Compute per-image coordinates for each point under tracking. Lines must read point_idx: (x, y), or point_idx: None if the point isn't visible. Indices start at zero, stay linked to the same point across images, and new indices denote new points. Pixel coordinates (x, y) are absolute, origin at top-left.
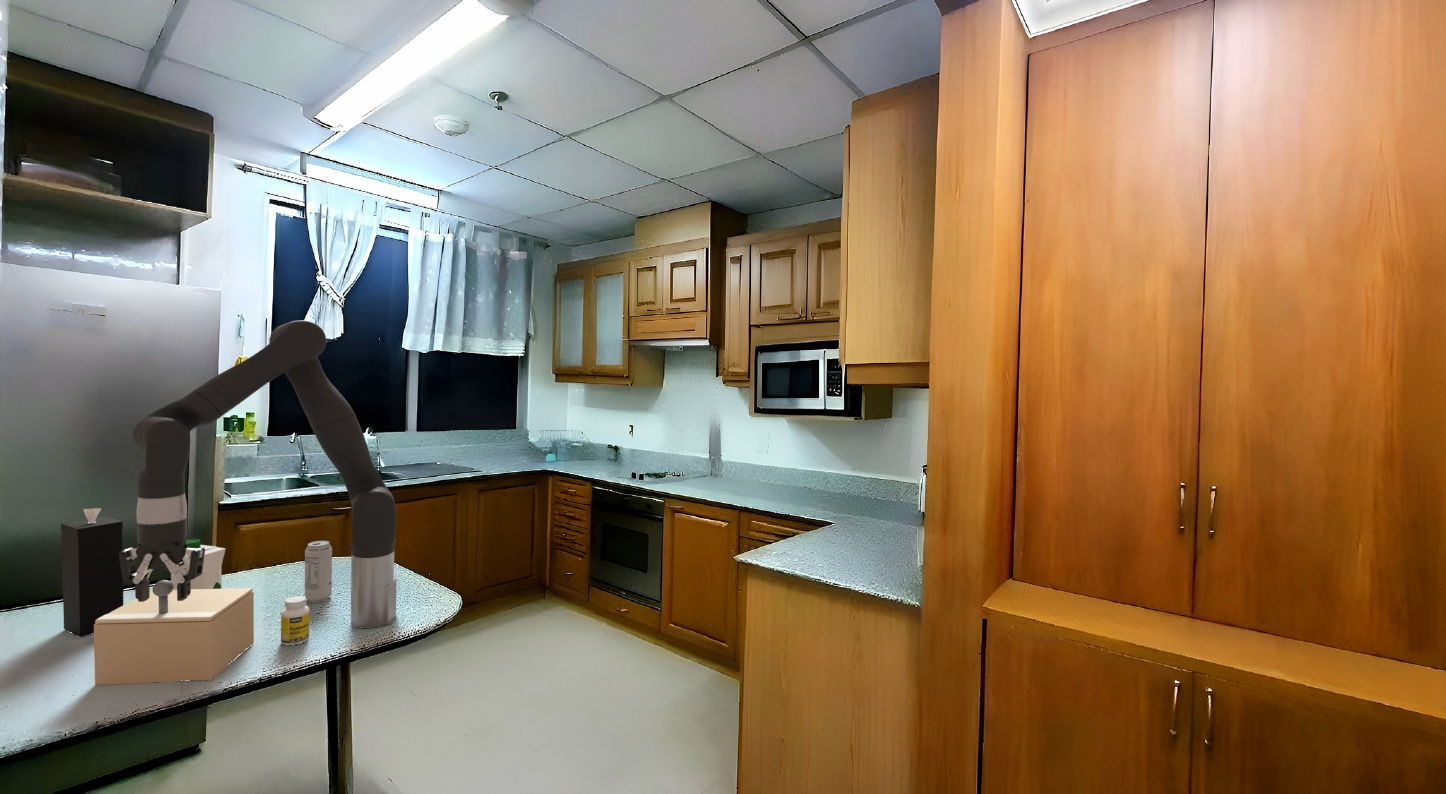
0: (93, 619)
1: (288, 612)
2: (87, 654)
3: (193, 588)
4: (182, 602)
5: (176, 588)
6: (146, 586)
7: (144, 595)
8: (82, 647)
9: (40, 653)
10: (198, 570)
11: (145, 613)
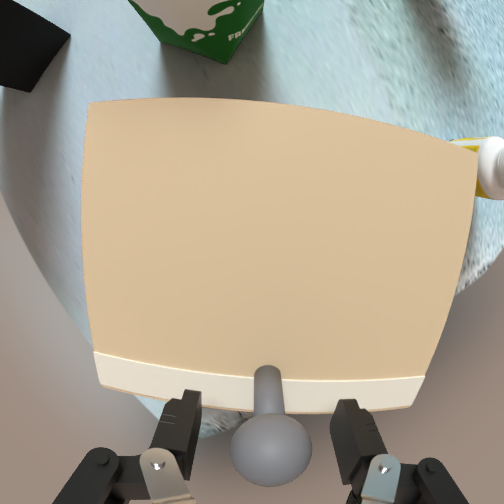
0: (23, 69)
1: (498, 192)
2: (66, 161)
3: (202, 2)
4: (289, 279)
5: (143, 3)
6: (192, 445)
7: (197, 425)
8: (47, 129)
9: (10, 155)
10: (434, 484)
11: (210, 375)
